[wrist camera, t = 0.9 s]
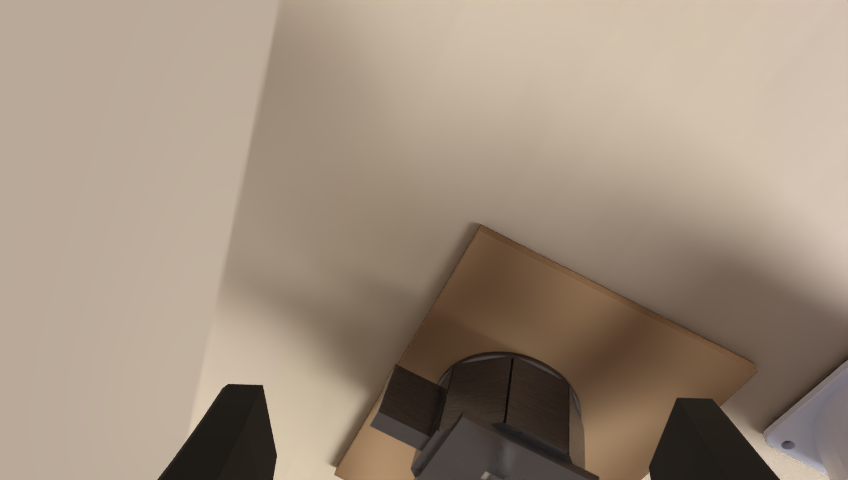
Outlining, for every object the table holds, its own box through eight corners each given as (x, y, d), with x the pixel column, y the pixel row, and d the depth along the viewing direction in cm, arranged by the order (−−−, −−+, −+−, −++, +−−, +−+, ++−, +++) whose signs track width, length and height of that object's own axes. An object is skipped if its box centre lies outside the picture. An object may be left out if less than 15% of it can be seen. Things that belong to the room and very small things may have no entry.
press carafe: (611, 396, 28) (618, 483, 24) (534, 481, 31) (528, 569, 27) (427, 304, 27) (402, 376, 23) (371, 400, 31) (340, 478, 27)
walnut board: (754, 363, 26) (757, 371, 26) (540, 566, 35) (539, 574, 35) (480, 224, 25) (479, 230, 25) (336, 467, 35) (334, 474, 34)
